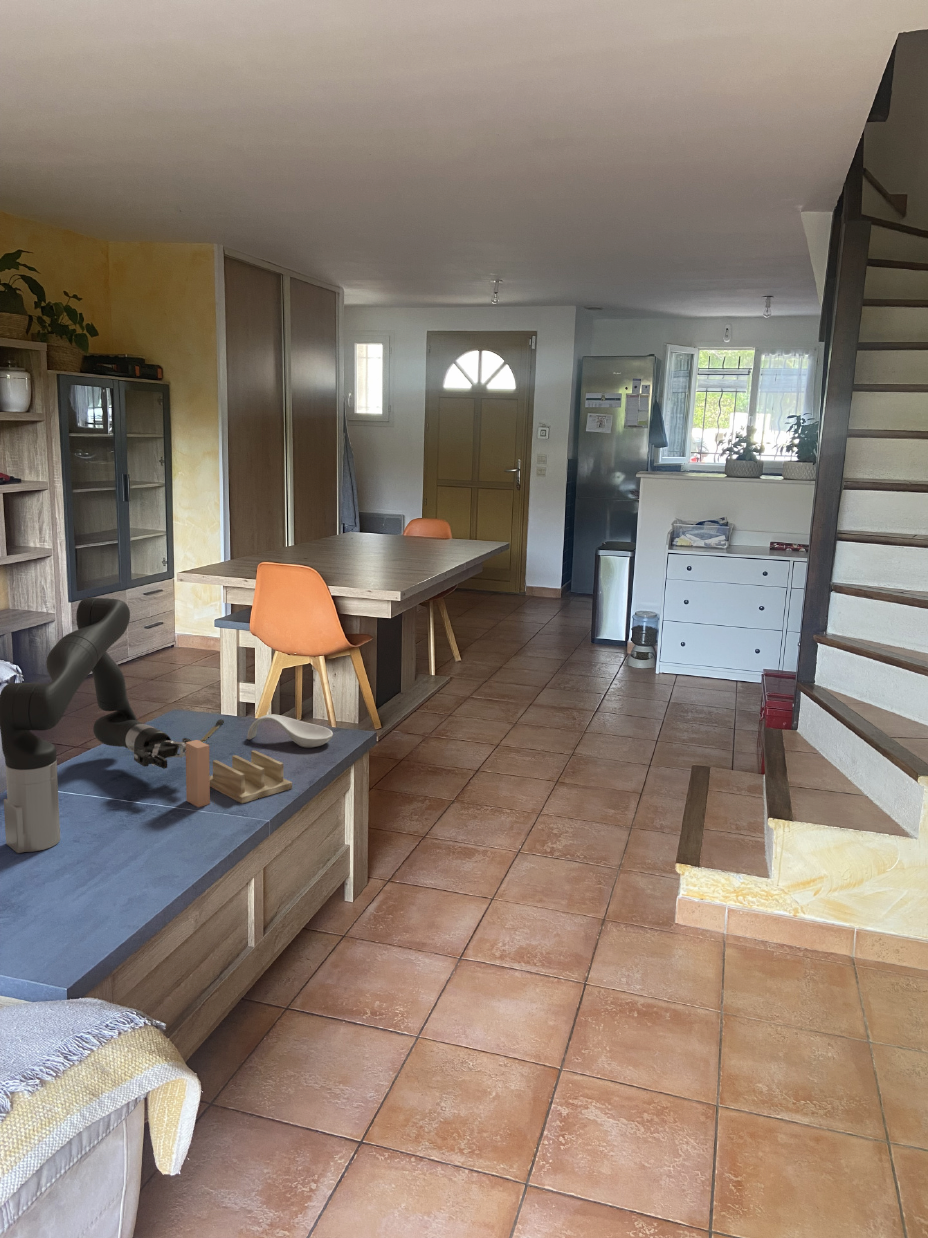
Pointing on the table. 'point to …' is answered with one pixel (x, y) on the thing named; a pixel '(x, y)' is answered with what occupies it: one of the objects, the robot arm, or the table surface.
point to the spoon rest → (296, 730)
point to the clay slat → (197, 773)
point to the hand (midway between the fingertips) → (182, 760)
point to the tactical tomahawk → (212, 730)
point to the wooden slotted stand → (249, 777)
